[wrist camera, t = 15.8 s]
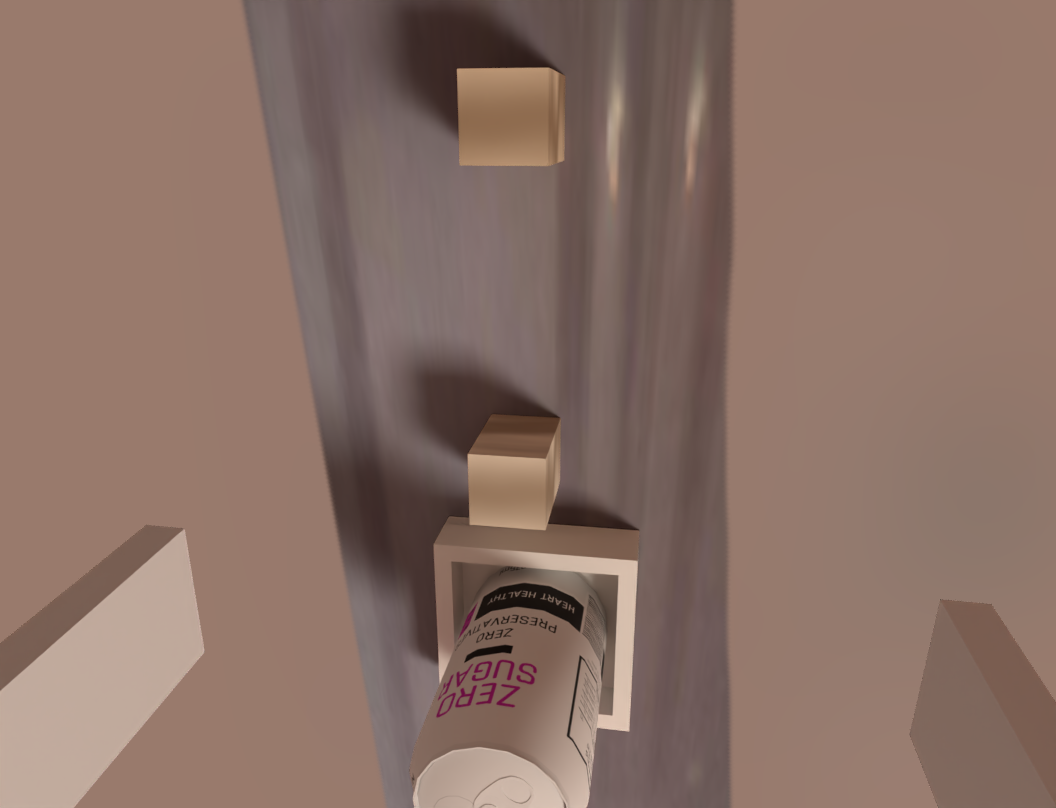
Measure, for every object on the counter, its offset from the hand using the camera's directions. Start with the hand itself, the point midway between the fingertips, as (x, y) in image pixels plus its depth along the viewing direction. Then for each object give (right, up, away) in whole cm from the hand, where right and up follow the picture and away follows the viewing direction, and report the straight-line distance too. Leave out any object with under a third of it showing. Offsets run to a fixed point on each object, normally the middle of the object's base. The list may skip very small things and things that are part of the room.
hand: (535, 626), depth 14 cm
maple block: (0, +18, +26) cm, 32 cm away
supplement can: (+1, -9, +35) cm, 36 cm away
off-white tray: (+1, -9, +35) cm, 37 cm away
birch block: (0, +1, +32) cm, 32 cm away
